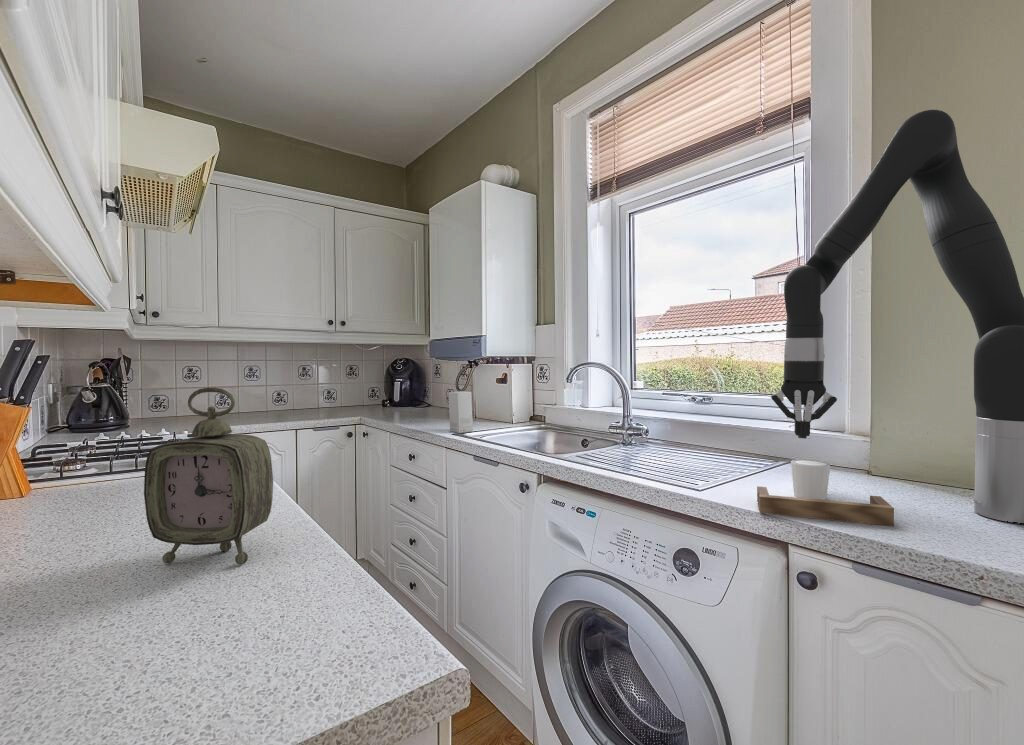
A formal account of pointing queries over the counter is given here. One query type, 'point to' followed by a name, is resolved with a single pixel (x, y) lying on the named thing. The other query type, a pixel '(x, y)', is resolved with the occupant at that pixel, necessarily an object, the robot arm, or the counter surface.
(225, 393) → the tabletop clock
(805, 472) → the white cup
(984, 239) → the robot arm
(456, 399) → the skincare box
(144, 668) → the counter surface
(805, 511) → the stop rail
